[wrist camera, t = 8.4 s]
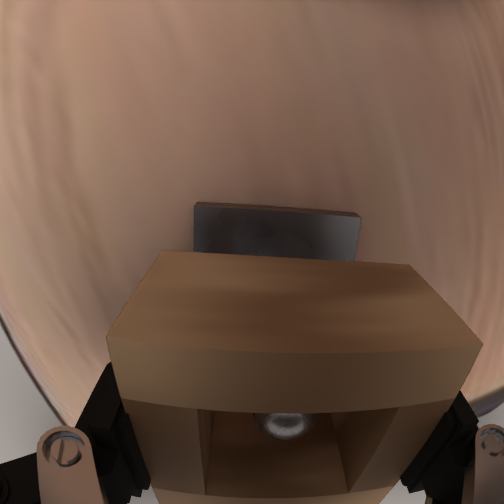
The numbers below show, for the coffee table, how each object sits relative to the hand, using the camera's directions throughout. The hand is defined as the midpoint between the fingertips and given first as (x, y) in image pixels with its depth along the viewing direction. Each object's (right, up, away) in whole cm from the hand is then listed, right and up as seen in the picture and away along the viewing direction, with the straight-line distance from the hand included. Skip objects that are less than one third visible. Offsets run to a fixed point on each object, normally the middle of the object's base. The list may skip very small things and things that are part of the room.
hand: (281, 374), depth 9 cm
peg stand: (0, +2, +6) cm, 6 cm away
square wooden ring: (0, 0, +1) cm, 1 cm away
